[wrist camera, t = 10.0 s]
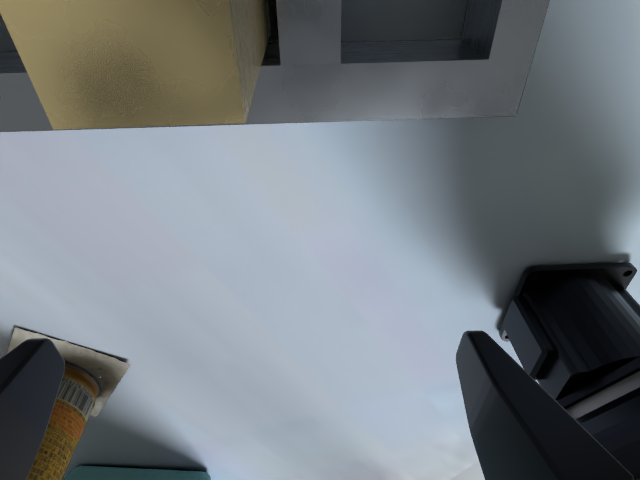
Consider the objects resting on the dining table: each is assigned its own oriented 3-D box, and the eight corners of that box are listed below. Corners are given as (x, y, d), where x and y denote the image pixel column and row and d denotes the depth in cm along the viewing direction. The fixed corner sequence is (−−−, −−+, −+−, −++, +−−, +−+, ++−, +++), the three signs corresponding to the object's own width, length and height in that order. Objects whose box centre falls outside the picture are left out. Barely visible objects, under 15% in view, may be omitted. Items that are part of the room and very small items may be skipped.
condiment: (-5, 388, 30) (-146, 605, 20) (16, 325, 25) (-150, 561, 16) (97, 414, 32) (14, 616, 23) (132, 360, 28) (48, 580, 19)
